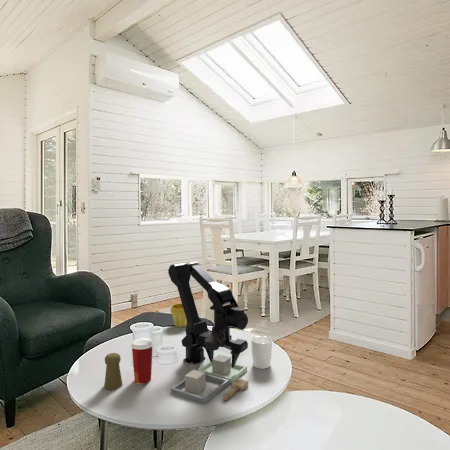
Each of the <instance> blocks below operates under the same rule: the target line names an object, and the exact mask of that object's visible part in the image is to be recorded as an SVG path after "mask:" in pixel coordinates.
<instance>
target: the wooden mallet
mask: <svg viewBox="0 0 450 450" xmlns="http://www.w3.org/2000/svg"><path fill="white" fill-rule="evenodd" d="M248 385H249V380H248V379H246V378H245V379H244V378H241V377H239V378H237V379H236V380H235V381H234V382H233V383H231V389H230V390H228V391H227V392H226V393H225V394H224V395H223V396H222V400H223V401H227V400H229V399H230V398H231V397H232V396H233V395H234V394H236V393H237V391H240V392H243V391H244V390H246V388H247V387H249V386H248Z"/></svg>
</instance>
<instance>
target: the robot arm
mask: <svg viewBox="0 0 450 450" xmlns="http://www.w3.org/2000/svg"><path fill="white" fill-rule="evenodd" d="M167 273H168V276H169V278H170V280H171V282H172V283H173V284H174V285H175V287H176V288H177V291H178V295H179V299H180V301H181V302H180V303H182V306H183V309H184V313H185V316H186V320H187V325H186V326H185V330H184V331H185V336H184V337H183V338H182V339H181V341H180V342H181V344H182V347H184V348H185V358H183V362H186V363H191V364H193V365H198V364H200V363H201V362H203V361H204V360H205V359H206V356H205V351H206V354H207V356H208V359H209V361H210V362H212V359H214V357H215V356H214V355H215V351H218V350H219V349H220V348H224V346H226V347H230V350H231V351H230V354H231V363H232V368H233V367H234V366H235V364H237V361H238V359H239V357H240V354H241V353H243V352H244V351H246V350H247V349H249V343H248V341H247V340H245V339H242V338H241V339H239V338H237V339H236V340H231V339H232V335H231V334H230V333H231V328H234V329H237V330H241V331H242V330H243V331H244V330H245V329H246V328H247V325H248V323H249V318H248V315H247V314H246V313H245V310H244V309H243V308H239V304H238V302H237V301H236V299H235V296H234V294H233V292H232V290H231V289H230V288H229V287H227V286H226V285H224V284H223V283H219V282H217V281H216V280H215V279H214V278H213V277H212V276H211V275H209V273H208V272H207V271H206V270H204V268H202V266H201V265H200V263H199V262H198V261H190V262H181V263H173V264H171V265H169V268H168V270H167ZM191 278H193V279H194V280H195V281H196V282H197V283H198V284H199V285H200V286H201V287H202V288H203V290H205V292H206V293H207V298H208V299H209V301H210V303H212V305H210V307H209V309H210V310H212V311H213V319H214V320H213V326H212V327H211V331H210V330H209V328H208V325H207V321H206V320H202V319H201V318H200V317H199V313H198V309H197V306H196V302H195V299H194V295H193V292H192V289H191V286H190V280H191ZM209 331H210V332H209Z"/></svg>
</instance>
